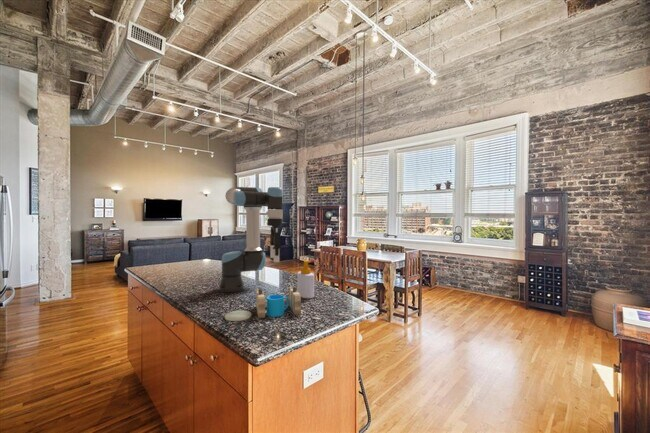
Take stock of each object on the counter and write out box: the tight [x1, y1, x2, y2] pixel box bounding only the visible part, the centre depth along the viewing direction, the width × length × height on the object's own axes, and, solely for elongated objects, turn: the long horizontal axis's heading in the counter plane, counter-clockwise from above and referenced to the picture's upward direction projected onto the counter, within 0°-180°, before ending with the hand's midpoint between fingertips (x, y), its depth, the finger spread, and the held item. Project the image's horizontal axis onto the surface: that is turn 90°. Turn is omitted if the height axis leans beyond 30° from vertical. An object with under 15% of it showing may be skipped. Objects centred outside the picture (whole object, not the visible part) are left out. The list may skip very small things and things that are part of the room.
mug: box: [266, 294, 290, 318], centre depth 143 cm, size 12×8×8 cm
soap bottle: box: [296, 260, 315, 299], centre depth 172 cm, size 13×8×20 cm, turn 34°
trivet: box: [224, 310, 252, 322], centre depth 137 cm, size 12×12×1 cm
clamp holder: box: [255, 286, 302, 319], centre depth 146 cm, size 16×20×11 cm
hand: (274, 259), depth 149 cm, fingers open, 13 cm apart
